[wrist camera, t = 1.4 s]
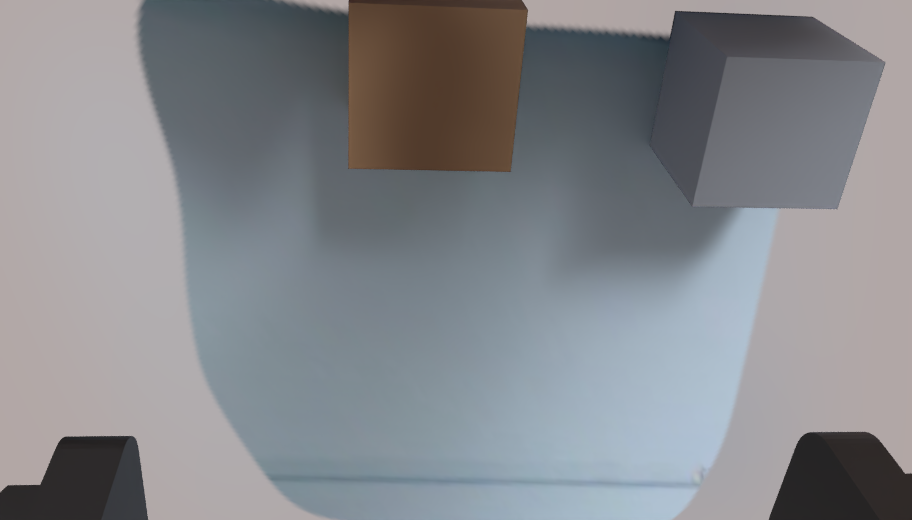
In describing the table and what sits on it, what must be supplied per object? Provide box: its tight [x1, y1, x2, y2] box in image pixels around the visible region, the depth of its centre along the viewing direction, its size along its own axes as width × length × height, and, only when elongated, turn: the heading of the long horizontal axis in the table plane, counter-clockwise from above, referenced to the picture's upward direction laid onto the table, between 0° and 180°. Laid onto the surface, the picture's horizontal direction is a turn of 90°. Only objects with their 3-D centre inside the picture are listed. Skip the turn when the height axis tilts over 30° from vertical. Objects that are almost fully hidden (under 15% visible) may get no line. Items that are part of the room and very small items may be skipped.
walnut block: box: [348, 0, 528, 172], centre depth 25 cm, size 4×4×4 cm
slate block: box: [650, 11, 885, 209], centre depth 26 cm, size 4×4×4 cm
